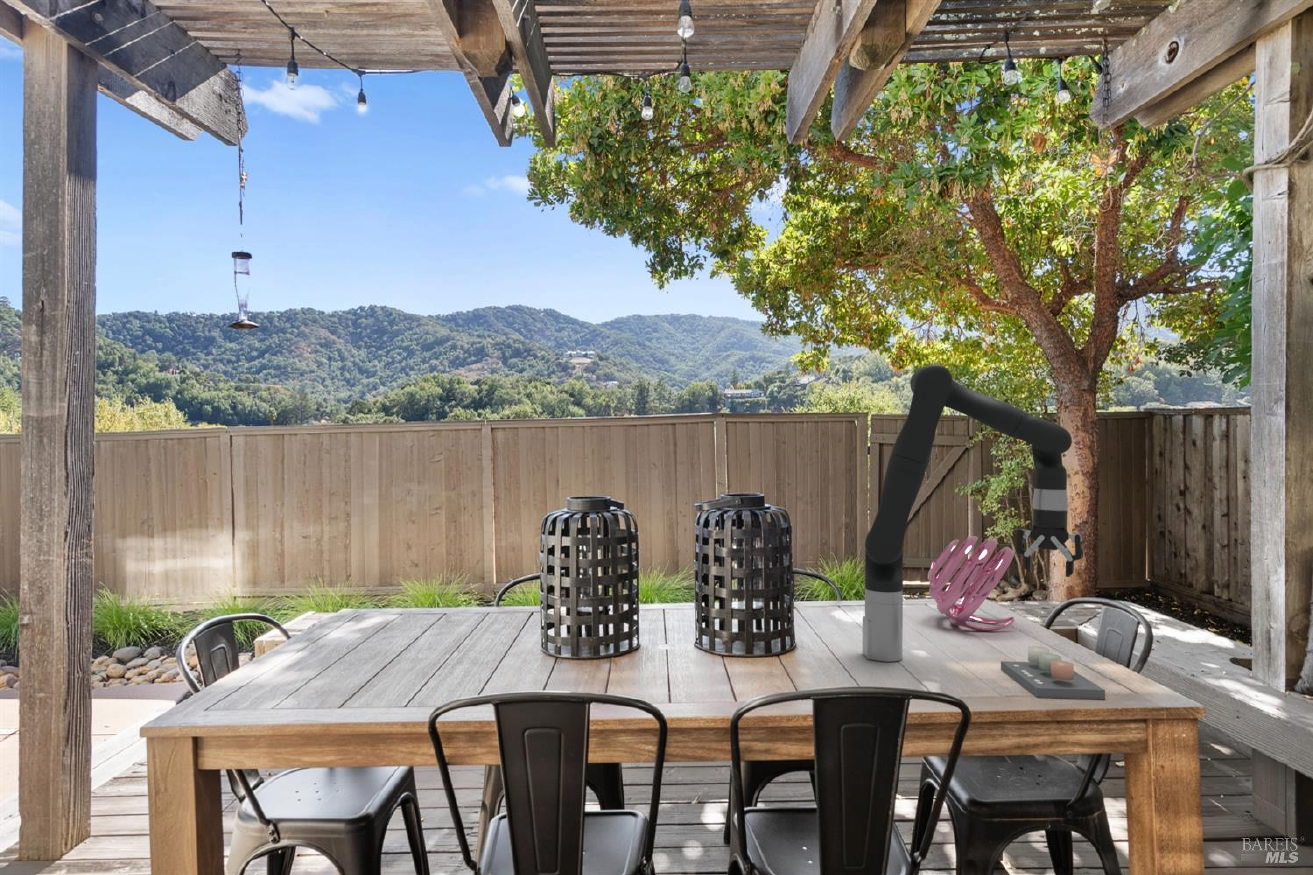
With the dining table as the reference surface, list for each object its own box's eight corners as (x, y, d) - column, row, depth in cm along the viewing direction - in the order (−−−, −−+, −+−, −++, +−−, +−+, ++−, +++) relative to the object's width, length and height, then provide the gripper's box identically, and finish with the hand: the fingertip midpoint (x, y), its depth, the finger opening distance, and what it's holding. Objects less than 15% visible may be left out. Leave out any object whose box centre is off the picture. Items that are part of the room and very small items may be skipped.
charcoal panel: (1037, 697, 161) (1037, 687, 161) (1000, 669, 181) (1001, 660, 181) (1104, 699, 160) (1105, 689, 160) (1061, 671, 180) (1061, 661, 180)
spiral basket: (1054, 561, 225) (972, 507, 234) (1045, 599, 202) (955, 537, 211) (997, 624, 238) (922, 571, 247) (983, 666, 215) (901, 606, 224)
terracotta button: (1056, 679, 163) (1056, 666, 163) (1047, 673, 167) (1047, 660, 167) (1077, 680, 163) (1077, 666, 163) (1067, 674, 167) (1067, 660, 167)
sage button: (1044, 671, 169) (1044, 658, 169) (1035, 665, 173) (1035, 652, 173) (1064, 672, 169) (1064, 658, 169) (1055, 666, 173) (1055, 653, 173)
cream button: (1032, 663, 175) (1032, 650, 175) (1024, 658, 179) (1024, 645, 179) (1052, 664, 175) (1052, 651, 175) (1043, 658, 179) (1043, 646, 179)
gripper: (1014, 506, 185) (1013, 572, 185) (1079, 510, 176) (1078, 580, 176) (1022, 504, 191) (1021, 568, 191) (1086, 509, 182) (1084, 576, 182)
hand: (1048, 574), depth 184 cm, fingers open, 8 cm apart
